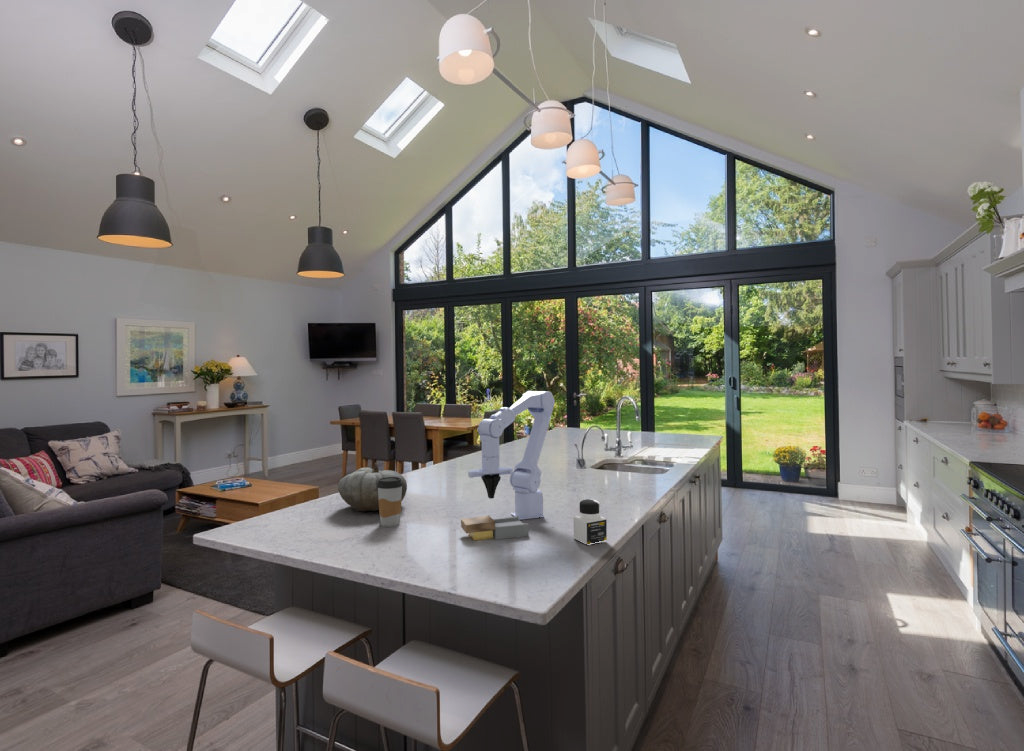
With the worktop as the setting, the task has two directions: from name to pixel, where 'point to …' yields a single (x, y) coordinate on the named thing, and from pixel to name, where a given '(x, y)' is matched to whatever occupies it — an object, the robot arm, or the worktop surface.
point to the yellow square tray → (481, 535)
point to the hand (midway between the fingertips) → (491, 497)
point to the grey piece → (510, 528)
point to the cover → (477, 524)
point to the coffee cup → (390, 500)
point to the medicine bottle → (590, 523)
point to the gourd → (365, 487)
